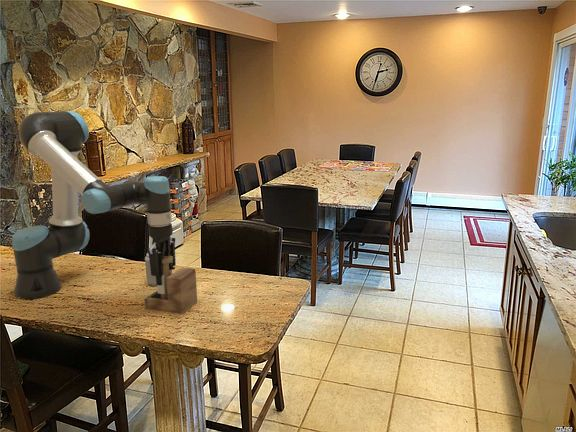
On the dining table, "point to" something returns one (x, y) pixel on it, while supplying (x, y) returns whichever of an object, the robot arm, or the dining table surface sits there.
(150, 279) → the can
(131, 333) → the dining table surface
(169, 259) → the handle
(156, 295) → the wooden stand
